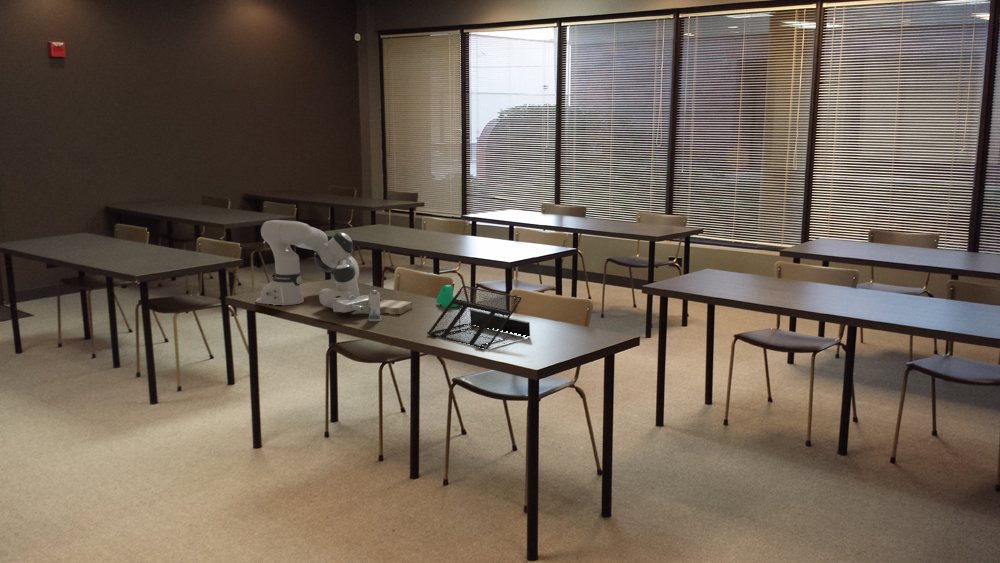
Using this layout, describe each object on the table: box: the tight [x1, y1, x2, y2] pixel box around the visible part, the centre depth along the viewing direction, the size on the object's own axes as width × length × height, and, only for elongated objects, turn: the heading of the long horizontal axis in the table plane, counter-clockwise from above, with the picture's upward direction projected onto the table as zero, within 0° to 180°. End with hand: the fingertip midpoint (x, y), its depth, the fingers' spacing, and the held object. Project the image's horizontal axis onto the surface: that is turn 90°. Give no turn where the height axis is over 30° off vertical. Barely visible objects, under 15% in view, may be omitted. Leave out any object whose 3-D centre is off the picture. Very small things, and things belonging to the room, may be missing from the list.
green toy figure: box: [435, 284, 459, 308], centre depth 388 cm, size 12×8×10 cm, turn 46°
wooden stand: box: [380, 299, 413, 315], centre depth 377 cm, size 14×14×3 cm
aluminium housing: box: [367, 289, 383, 323], centre depth 357 cm, size 6×6×13 cm
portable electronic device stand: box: [426, 285, 531, 350], centre depth 331 cm, size 33×28×18 cm
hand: (369, 306), depth 360 cm, fingers open, 8 cm apart
